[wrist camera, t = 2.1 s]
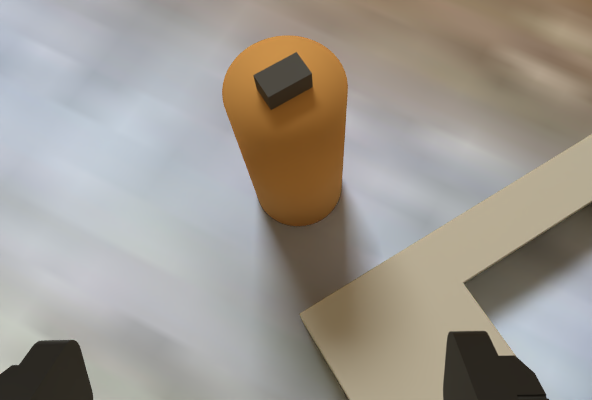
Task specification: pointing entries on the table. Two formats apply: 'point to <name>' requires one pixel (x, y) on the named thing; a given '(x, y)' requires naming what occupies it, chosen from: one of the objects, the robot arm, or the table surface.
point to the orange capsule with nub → (290, 125)
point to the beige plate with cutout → (439, 286)
